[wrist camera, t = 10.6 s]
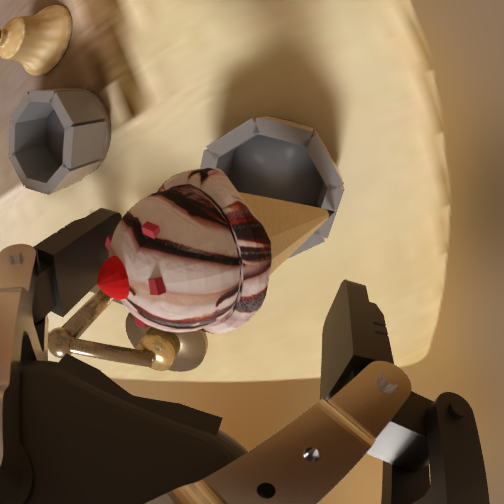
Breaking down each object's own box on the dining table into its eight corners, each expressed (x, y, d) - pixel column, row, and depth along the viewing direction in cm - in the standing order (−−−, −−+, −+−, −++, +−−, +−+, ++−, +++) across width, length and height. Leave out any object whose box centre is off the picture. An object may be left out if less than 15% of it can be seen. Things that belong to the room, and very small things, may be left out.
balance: (56, 210, 30) (-47, 273, 17) (236, 267, 29) (172, 397, 16) (60, 270, 34) (-23, 342, 21) (221, 332, 33) (169, 454, 19)
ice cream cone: (367, 157, 17) (120, 148, 6) (385, 253, 18) (188, 406, 6) (287, 176, 21) (53, 206, 10) (304, 260, 21) (94, 359, 10)
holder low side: (234, 107, 23) (212, 107, 18) (348, 138, 22) (357, 146, 17) (212, 212, 27) (189, 237, 22) (315, 242, 26) (314, 274, 22)
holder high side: (51, 87, 24) (12, 91, 19) (117, 90, 24) (77, 91, 19) (45, 168, 28) (9, 182, 24) (106, 183, 28) (70, 201, 23)
